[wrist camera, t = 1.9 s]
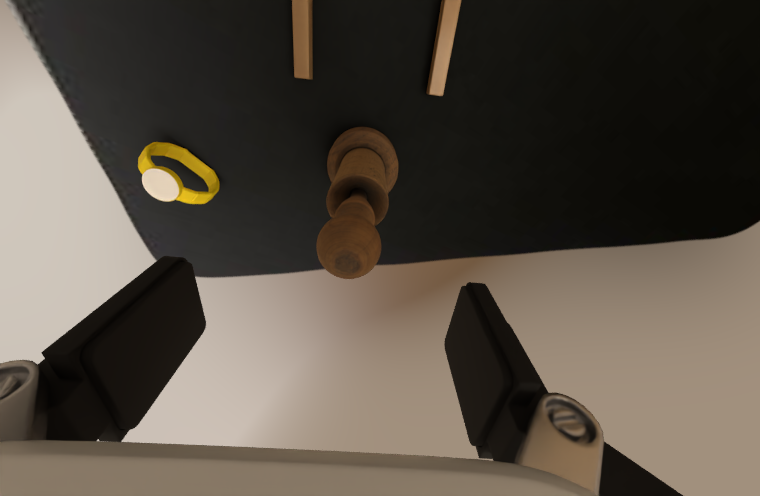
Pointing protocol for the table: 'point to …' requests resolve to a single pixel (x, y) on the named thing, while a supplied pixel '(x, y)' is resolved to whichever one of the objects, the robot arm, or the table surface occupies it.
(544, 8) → the table surface
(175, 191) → the watch
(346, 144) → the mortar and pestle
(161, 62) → the table surface
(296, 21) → the frame
